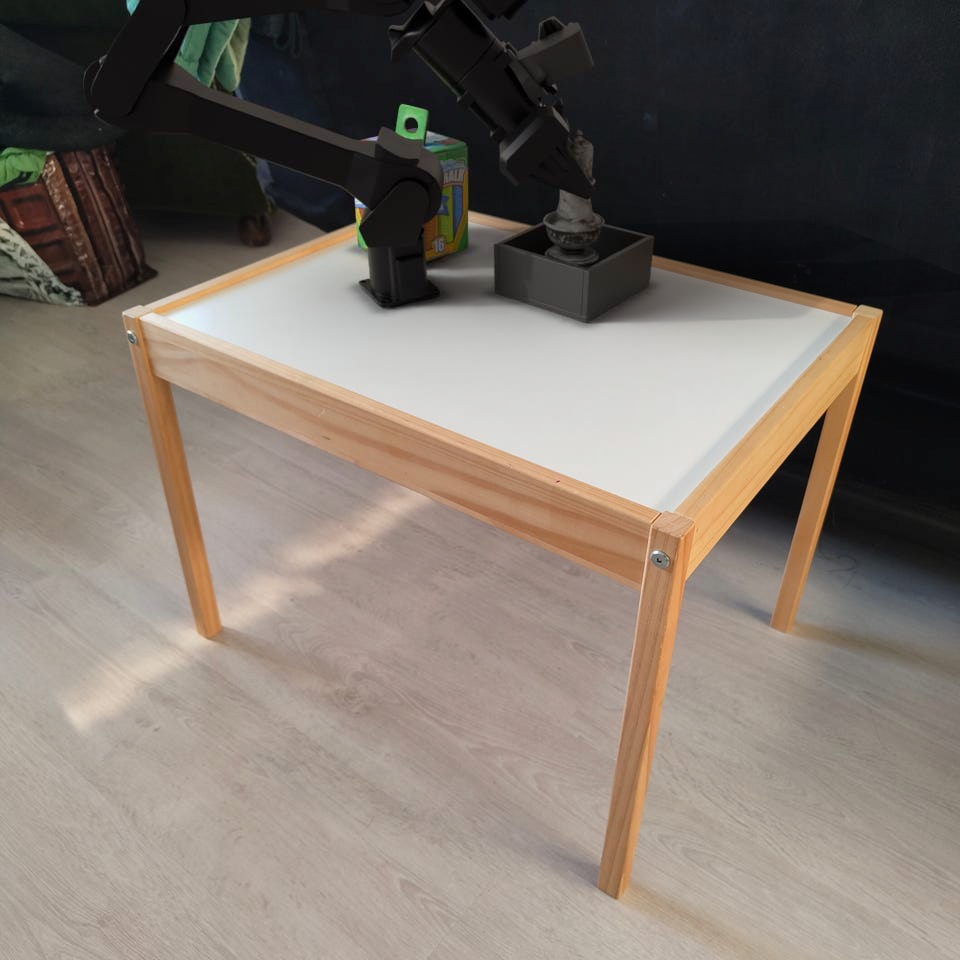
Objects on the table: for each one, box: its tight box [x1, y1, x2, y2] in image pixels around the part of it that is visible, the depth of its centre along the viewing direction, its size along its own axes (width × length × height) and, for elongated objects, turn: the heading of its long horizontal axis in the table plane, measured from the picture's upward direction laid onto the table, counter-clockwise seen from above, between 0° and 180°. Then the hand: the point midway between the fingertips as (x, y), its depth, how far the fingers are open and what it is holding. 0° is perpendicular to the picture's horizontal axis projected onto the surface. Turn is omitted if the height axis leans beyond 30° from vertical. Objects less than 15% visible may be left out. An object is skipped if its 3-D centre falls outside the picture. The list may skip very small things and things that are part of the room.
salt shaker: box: [542, 128, 605, 266], centre depth 85 cm, size 6×6×12 cm
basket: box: [493, 221, 655, 324], centre depth 89 cm, size 11×11×5 cm
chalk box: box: [354, 103, 470, 263], centre depth 96 cm, size 9×9×15 cm
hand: (590, 189), depth 84 cm, fingers closed on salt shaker, 3 cm apart
